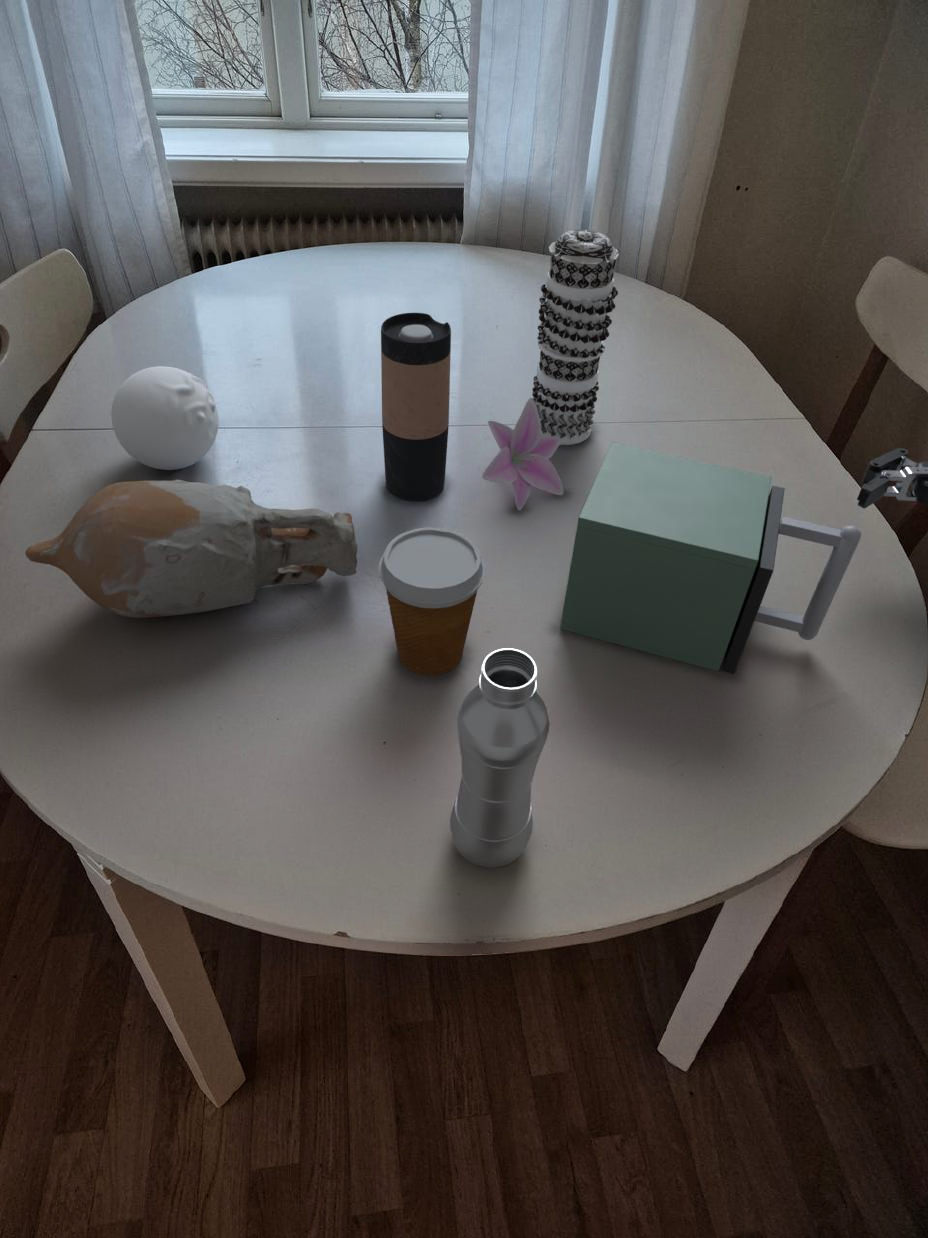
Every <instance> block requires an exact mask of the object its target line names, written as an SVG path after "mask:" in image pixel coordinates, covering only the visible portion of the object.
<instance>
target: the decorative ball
mask: <svg viewBox="0 0 928 1238" xmlns="http://www.w3.org/2000/svg"><path fill="white" fill-rule="evenodd" d="M110 417H111V418H110V419H111V424H112V425H111V426H112V428H113V432H114V434H115V437H116V438H117V441H118V442H119V444H120V446H121V447H122V448H123V449H124V451H125V452H126V453H127V454H128V455H129V456H131V458H133V459H134V460H136V461H137V462H139V463H141V464H142V465H145V466H147V467H149V468H153V469H157V470H163V471H174V470H180V469H185V468H187V467H190V466H192V465H194V464H196V463H197V462H199V461H200V460H201V459H203V458H204V457H205V456H206V455H207V454H208V452H209V451H210V450H211V449H212V447H213V445H214V443H215V441H216V438H217V435H218V430H219V424H220V423H219V421H220V420H219V414H218V409H217V405H216V402H215V399H214V396H213V395H212V393H211V392H210V391H209V390H208V387H207V385H206V383H205V382H204V380H203V379H201V378H200V377H198V376H195V375H194V374H193V373H190V372H189V371H186V370H183V369H181V368H179V367H178V368H177V367H173V366H164V365H163V366H162V365H159V366H150V367H146V368H143V369H140V370H138V371H136V372H134V373H133V374H131V375H129V376H128V377H127V378H126V379H125V380H124V381H123V382H122V383H121V385H120V386H119V387H118V389H117V390H116V393H115V395H114V397H113V399H112V404H111V413H110Z"/></svg>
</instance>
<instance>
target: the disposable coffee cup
mask: <svg viewBox="0 0 928 1238" xmlns="http://www.w3.org/2000/svg"><path fill="white" fill-rule="evenodd" d="M486 571H487V569H486V563H485V561H484V560H483V557H482V556H481V552H480V550H479V547H478V546H477V545H476V544H475V542H474V541H473V540H471V539H470V538H469V537H467V536H466V535H464V534H463V533H460V532H458V531H456V530H452V529H449V528H443V527H435V526H434V527H432V526H430V527H419V528H415V529H411V530H408V531H405V532H403V533H401V534H398V535H397V536H396V537H394V538H393V539H392V540H391V541H389V543H388V544H387V545H386V547H385V550H384V553H383V554H382V556H381V557H380V560H379V562H378V575H379V579H380V580H381V582H382V584H383V585H384V588H385V590H386V596H387V601H388V606H389V611H390V612H389V613H390V616H391V617H390V619H391V624H392V629H393V634H394V639H395V645H396V648H397V655H398V659H399V661H400V663H401V664H402V665H403V666H404V667H405V668H406V669H408V670H409V671H411V672H413V673H415V674H419V675H422V676H423V675H424V676H438V675H443V674H445V673H449V672H450V671H452V670H453V669H454V668H456V667H457V666H458V665H459V664H460V663H461V660H462V658H463V653H464V648H465V644H466V641H467V637H468V633H469V632H468V631H469V629H470V624H471V619H472V615H473V611H474V606H475V603H476V598H477V595H478V594H477V593H478V590H479V589H480V587H481V586H482V584H483V581H484V580H485V577H486Z"/></svg>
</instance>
